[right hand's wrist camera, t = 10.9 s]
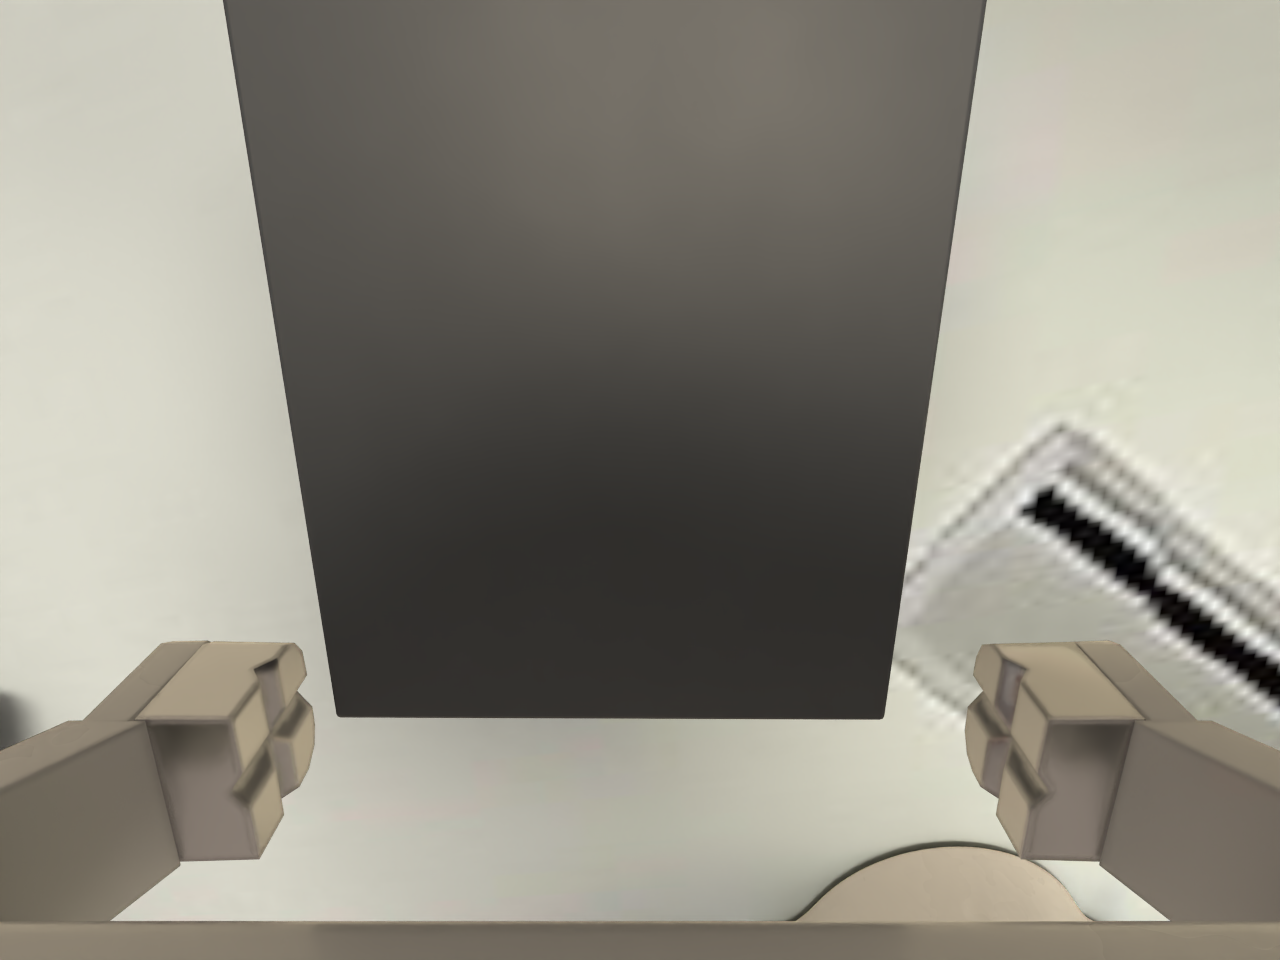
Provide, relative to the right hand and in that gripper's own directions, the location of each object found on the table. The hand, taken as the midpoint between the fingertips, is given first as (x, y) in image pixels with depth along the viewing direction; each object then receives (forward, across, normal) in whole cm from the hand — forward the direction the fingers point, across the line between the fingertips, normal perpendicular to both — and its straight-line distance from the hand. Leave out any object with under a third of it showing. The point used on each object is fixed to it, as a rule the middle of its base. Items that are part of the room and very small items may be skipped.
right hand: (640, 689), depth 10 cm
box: (+8, 0, +14) cm, 16 cm away
